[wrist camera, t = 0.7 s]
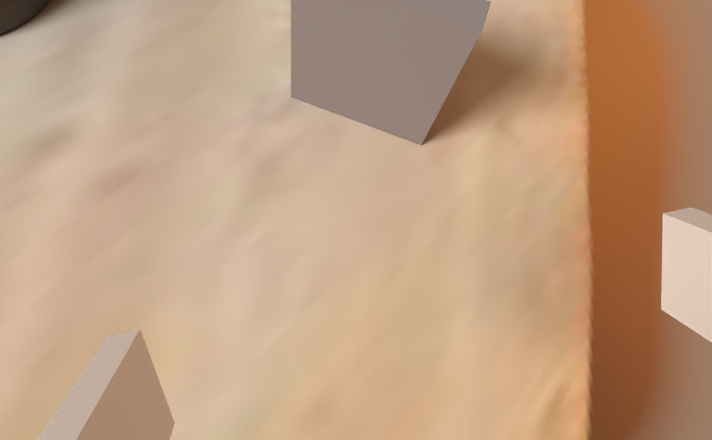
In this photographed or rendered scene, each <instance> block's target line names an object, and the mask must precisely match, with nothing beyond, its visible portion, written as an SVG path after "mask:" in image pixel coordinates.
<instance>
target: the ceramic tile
mask: <svg viewBox="0 0 712 440" xmlns="http://www.w3.org/2000/svg"><path fill="white" fill-rule="evenodd" d="M490 3H491V2H489V1H487V0H291V97H292V98H295V99H298V100H300V101H303V102H306V103H309V104H311V105H314V106H317V107H319V108H322V109H325V110H327V111H330V112H333V113H336V114H338V115H341V116H344V117H346V118H349V119H352V120H354V121H357V122H360V123H363V124H365V125H368V126H371V127H373V128H376V129H379V130H381V131H384V132H387V133H390V134H392V135H395V136H398V137H400V138H403V139H406V140H408V141H411V142H414V143H417V144H419V145H422V143H423V141H424V139H425V137H426V136H427V134H428V132H429V130H430V128H431V126H432V124H433V122H434V120H435V119H436V117H437V115H438V113H439V111H440V109H441V107H442V105H443V103H444V102H445V100H446V98H447V96H448V94H449V92H450V90H451V88H452V86H453V85H454V83H455V81H456V79H457V77H458V75H459V73H460V71H461V69H462V68H463V66H464V64H465V62H466V60H467V58H468V56H469V54H470V52H471V51H472V49H473V47H474V45H475V43H476V41H477V39H478V37H479V35H480V34H481V32H482V29H483V25H484V22H485V19H486V16H487V13H488V10H489V6H490Z"/></svg>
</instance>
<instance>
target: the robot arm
mask: <svg viewBox="0 0 712 440" xmlns="http://www.w3.org/2000/svg"><path fill="white" fill-rule="evenodd" d="M49 1H50V0H0V34H1V33H4V32H6V31H8V30H11V29H13V28H15V27H17V26H18V25H20V24H22V23H24V22H25V21H27V20H28V19H30V18H31V17H33V16H34V15H35V14H37V13H38V12H39V11H40V10H41V9H42V8H43V7H44V6H46V5H47V4H48V2H49ZM661 309H662V310H663V311H665V312H666V313H668V314H669V315H671V316H672V317H674V318H675V319H677V320H678V321H680V322H681V323H683V324H684V325H686V326H688V327H689V328H691V329H692V330H694V331H695V332H696V333H698V334H700V335H701V336H703V337H704V338H706V339H707V340H709V341H710V342H712V214H709V213H706V212H704V211H701V210H698V209H695V208H692V207H690V208H685V209H681V210H676V211H672V212H668V213H663V234H662V293H661ZM173 426H174V420H173V418H172V415H171V412H170V409H169V407H168V404H167V401H166V398H165V396H164V393H163V390H162V388H161V385H160V382H159V379H158V377H157V374H156V371H155V368H154V366H153V363H152V360H151V357H150V355H149V352H148V349H147V347H146V344H145V341H144V338H143V336H142V333H141V330H140V329H138V330H134V331H129V332H125V333H120V334H116V335H111V336H107V338H106V339H105V340H104V342H103V343H102V345H101V346H100V348H99V349H98V351H97V352H96V354H95V355H94V357H93V358H92V360H91V361H90V362H89V364H88V365H87V367H86V368H85V370H84V371H83V373H82V374H81V376H80V377H79V379H78V380H77V381H76V383H75V384H74V386H73V387H72V389H71V390H70V392H69V393H68V395H67V396H66V398H65V399H64V400H63V402H62V403H61V405H60V406H59V408H58V409H57V411H56V412H55V414H54V415H53V417H52V418H51V419H50V421H49V422H48V424H47V425H46V427H45V428H44V430H43V431H42V433H41V434H40V436H39V437H38V438H37V440H169V439H170V436H171V433H172V430H173Z"/></svg>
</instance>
